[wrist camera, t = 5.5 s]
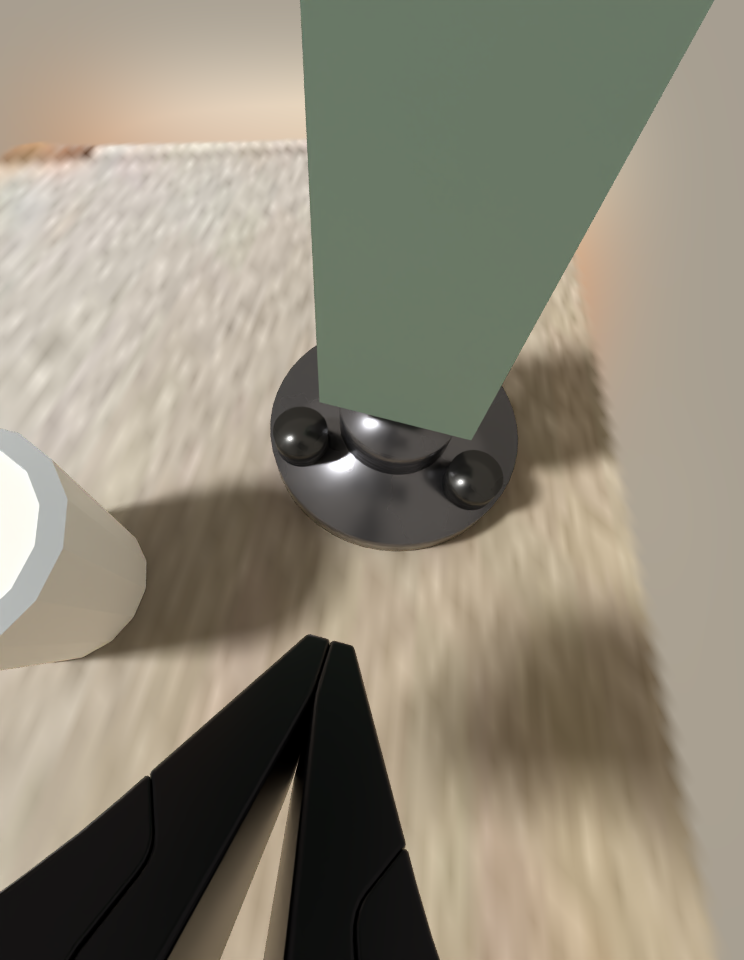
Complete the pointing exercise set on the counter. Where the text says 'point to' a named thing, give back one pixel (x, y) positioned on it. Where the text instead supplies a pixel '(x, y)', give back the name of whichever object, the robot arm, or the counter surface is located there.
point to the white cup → (59, 563)
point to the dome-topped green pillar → (462, 180)
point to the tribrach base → (386, 467)
